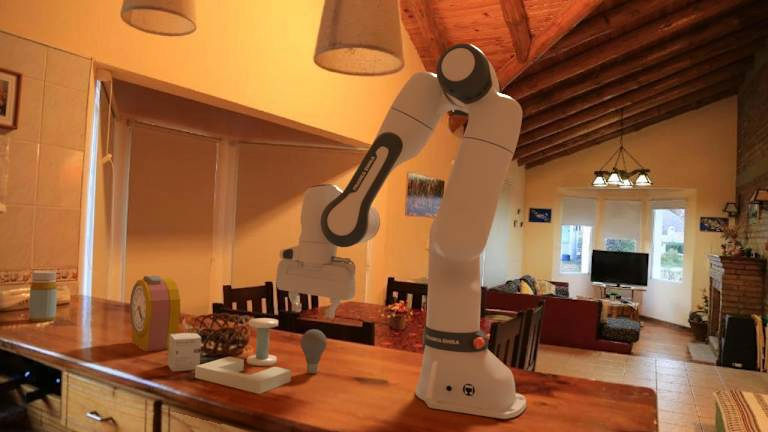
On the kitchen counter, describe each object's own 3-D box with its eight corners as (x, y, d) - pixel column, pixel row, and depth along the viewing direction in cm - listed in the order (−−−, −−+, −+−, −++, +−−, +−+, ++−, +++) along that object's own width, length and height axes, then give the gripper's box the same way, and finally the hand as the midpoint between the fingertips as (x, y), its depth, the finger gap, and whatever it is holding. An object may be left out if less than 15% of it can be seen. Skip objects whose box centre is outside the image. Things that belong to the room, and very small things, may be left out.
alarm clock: (127, 341, 144) (130, 273, 144) (158, 337, 149) (161, 272, 149) (145, 353, 132) (148, 279, 132) (178, 349, 138) (181, 278, 138)
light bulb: (300, 377, 119) (302, 332, 119) (297, 369, 125) (299, 326, 125) (327, 376, 120) (329, 332, 120) (323, 368, 126) (325, 326, 126)
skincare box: (171, 372, 118) (173, 339, 118) (167, 365, 123) (169, 333, 123) (200, 369, 121) (201, 337, 121) (194, 362, 127) (196, 331, 127)
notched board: (290, 381, 115) (291, 370, 115) (259, 393, 107) (259, 381, 107) (228, 367, 124) (229, 356, 124) (195, 377, 115) (195, 366, 115)
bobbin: (282, 361, 131) (284, 320, 131) (263, 367, 125) (265, 325, 125) (260, 356, 134) (262, 317, 134) (240, 362, 128) (242, 321, 128)
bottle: (60, 320, 165) (62, 272, 165) (35, 323, 159) (38, 273, 159) (48, 317, 169) (50, 270, 169) (24, 320, 163) (26, 271, 163)
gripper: (363, 258, 121) (358, 319, 121) (291, 250, 130) (286, 306, 130) (348, 259, 115) (343, 323, 115) (274, 250, 125) (269, 309, 125)
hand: (312, 314), depth 123 cm, fingers open, 8 cm apart
